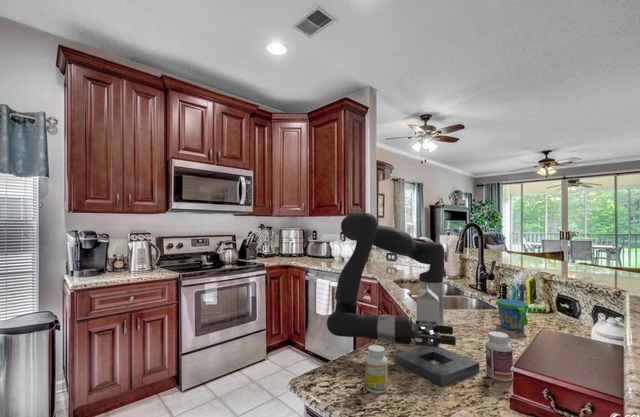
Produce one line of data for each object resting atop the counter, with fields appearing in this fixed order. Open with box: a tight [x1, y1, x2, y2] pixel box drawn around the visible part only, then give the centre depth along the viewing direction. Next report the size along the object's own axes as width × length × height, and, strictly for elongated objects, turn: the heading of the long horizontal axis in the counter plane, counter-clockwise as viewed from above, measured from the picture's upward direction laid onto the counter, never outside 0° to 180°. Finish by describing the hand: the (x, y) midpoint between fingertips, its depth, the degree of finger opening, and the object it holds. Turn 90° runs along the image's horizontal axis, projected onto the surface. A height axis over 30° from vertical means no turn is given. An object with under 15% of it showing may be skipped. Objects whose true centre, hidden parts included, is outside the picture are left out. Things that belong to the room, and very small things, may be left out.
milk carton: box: [416, 285, 440, 347], centre depth 107 cm, size 7×7×19 cm
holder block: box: [393, 345, 480, 388], centre depth 87 cm, size 16×16×2 cm
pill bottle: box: [485, 331, 514, 383], centre depth 83 cm, size 6×6×11 cm
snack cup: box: [495, 298, 529, 332], centre depth 122 cm, size 16×10×10 cm
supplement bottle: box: [364, 344, 389, 395], centre depth 76 cm, size 5×5×10 cm
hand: (454, 335), depth 86 cm, fingers open, 8 cm apart
